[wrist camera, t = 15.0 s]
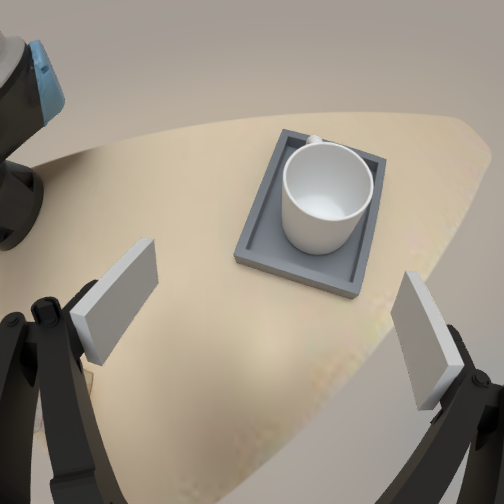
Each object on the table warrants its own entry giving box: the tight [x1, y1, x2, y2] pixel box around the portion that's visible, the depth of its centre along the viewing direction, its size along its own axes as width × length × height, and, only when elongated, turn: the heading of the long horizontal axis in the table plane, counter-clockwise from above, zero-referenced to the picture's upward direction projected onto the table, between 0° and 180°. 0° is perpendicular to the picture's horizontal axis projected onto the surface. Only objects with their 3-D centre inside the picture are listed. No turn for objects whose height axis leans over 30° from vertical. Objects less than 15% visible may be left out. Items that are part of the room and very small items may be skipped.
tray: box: [233, 129, 387, 299], centre depth 36 cm, size 14×18×3 cm
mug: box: [281, 135, 374, 255], centre depth 32 cm, size 12×8×10 cm
